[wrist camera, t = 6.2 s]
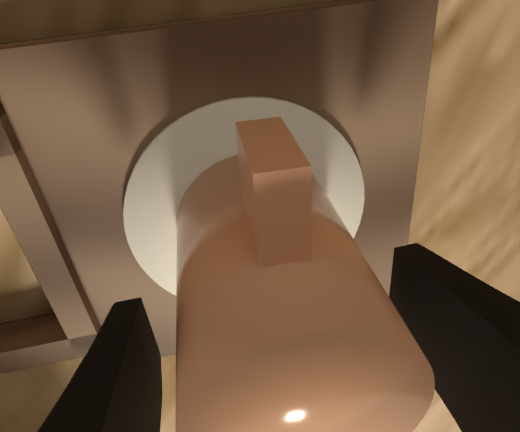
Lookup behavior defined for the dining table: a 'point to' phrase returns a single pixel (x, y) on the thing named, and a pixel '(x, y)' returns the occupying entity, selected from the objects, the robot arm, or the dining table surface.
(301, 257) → the peach tabbed cylinder
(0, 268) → the dining table surface
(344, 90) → the caddy
